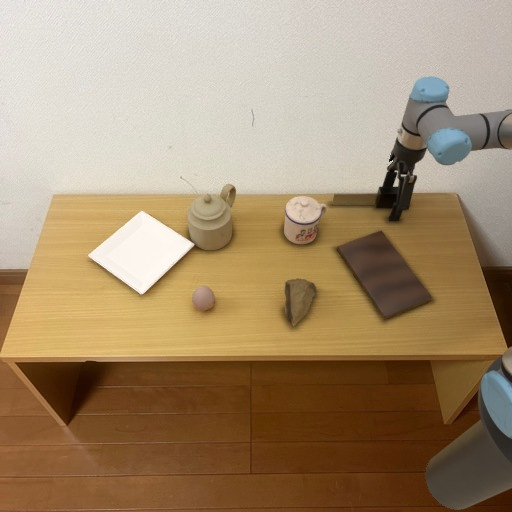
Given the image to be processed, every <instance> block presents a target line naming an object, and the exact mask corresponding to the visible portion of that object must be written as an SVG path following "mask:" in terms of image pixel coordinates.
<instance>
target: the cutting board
mask: <svg viewBox="0 0 512 512" xmlns="http://www.w3.org/2000/svg"><path fill="white" fill-rule="evenodd" d="M336 251H337V252H338V253H339V255H340V257H341V258H342V260H343V261H344V263H345V264H346V265H347V267H348V268H349V270H350V271H351V273H352V275H353V276H354V278H355V279H356V281H357V282H358V284H359V286H361V288H362V289H363V291H364V292H365V294H366V295H367V297H368V299H369V300H370V301H371V303H372V304H373V306H374V308H375V309H376V310H377V312H378V313H379V314H380V316H381V318H382V319H383V320H384V321H385V320H387V319H389V318H392V317H395V316H397V315H400V314H401V313H404V312H406V311H409V310H411V309H413V308H416V307H418V306H421V305H423V304H425V303H429V302H430V301H431V300H432V299H433V296H432V295H431V294H430V292H429V291H428V290H427V288H426V287H425V285H424V284H423V283H422V282H421V280H420V279H419V278H418V276H417V275H416V274H415V272H414V271H413V270H412V269H411V267H410V266H409V264H408V263H407V262H406V261H405V260H404V258H403V257H402V256H401V254H400V253H399V251H397V249H396V247H395V246H394V245H393V244H392V242H391V241H390V240H389V238H388V237H387V236H386V234H385V233H384V232H383V231H382V230H378V231H376V232H373V233H371V234H368V235H364V236H362V237H359V238H356V239H353V240H351V241H348V242H346V243H343V244H340V245H337V247H336Z"/></svg>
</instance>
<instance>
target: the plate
mask: <svg viewBox="0 0 512 512" xmlns="http://www.w3.org/2000/svg"><path fill="white" fill-rule="evenodd" d="M194 246H195V244H194V243H193V242H192V240H189V239H187V238H186V237H185V236H183V235H181V234H180V233H179V232H177V231H175V230H173V229H172V228H170V227H169V226H167V225H166V224H164V223H163V222H161V221H159V220H158V219H156V218H154V216H151V215H150V214H148V213H147V212H145V211H144V210H139V212H138V213H137V214H135V215H134V216H133V217H132V218H131V219H129V220H128V221H127V222H126V223H124V224H123V225H122V226H121V227H120V228H119V229H117V230H116V231H115V232H114V233H112V234H111V235H110V236H108V238H107V239H105V240H104V241H103V242H101V244H100V245H98V246H97V247H96V248H95V249H94V250H92V251H91V252H89V254H88V255H87V256H88V258H90V259H92V260H93V261H94V262H95V263H97V264H98V265H100V266H101V267H102V268H104V269H105V270H106V271H108V272H109V273H110V274H112V275H114V276H115V277H116V278H118V279H119V280H120V281H122V282H123V283H124V284H126V285H127V286H129V287H130V288H131V289H133V290H134V291H135V292H137V293H138V294H140V295H144V294H145V293H146V292H147V291H148V290H149V289H150V288H151V287H152V286H153V285H154V284H156V283H157V281H159V280H160V279H161V278H162V277H163V276H164V275H165V274H166V273H167V272H168V271H169V270H170V269H171V268H172V267H173V266H174V265H175V264H177V262H179V261H180V260H181V259H182V258H183V257H184V256H185V255H186V254H187V253H188V252H189V251H190V250H191V249H192V248H193V247H194Z"/></svg>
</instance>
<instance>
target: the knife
mask: <svg viewBox="0 0 512 512" xmlns="http://www.w3.org/2000/svg"><path fill="white" fill-rule="evenodd" d="M397 191H398V186H393V187H382V186H378V189H377V192H334V193H333V196H332V201H331V206H375V208H376V209H392V208H393V203H394V202H396V200H397Z"/></svg>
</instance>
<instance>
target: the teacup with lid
mask: <svg viewBox="0 0 512 512" xmlns="http://www.w3.org/2000/svg"><path fill="white" fill-rule="evenodd" d="M326 211H327V205H326V204H325V203H319V202H318V200H316V199H315V198H313V197H310V196H306V195H298V196H295V197H292V198H291V199H289V200H288V202H287V203H286V204H285V207H284V213H285V214H284V215H285V216H284V223H283V226H284V227H283V233H284V236H285V238H286V239H287V240H288V241H289V242H291V243H292V244H296V245H306V244H310V243H311V242H313V241H314V240H315V239H316V237H317V235H318V230H319V224H320V219H321V218H322V217H323V216H324V215H325V213H326Z"/></svg>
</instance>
